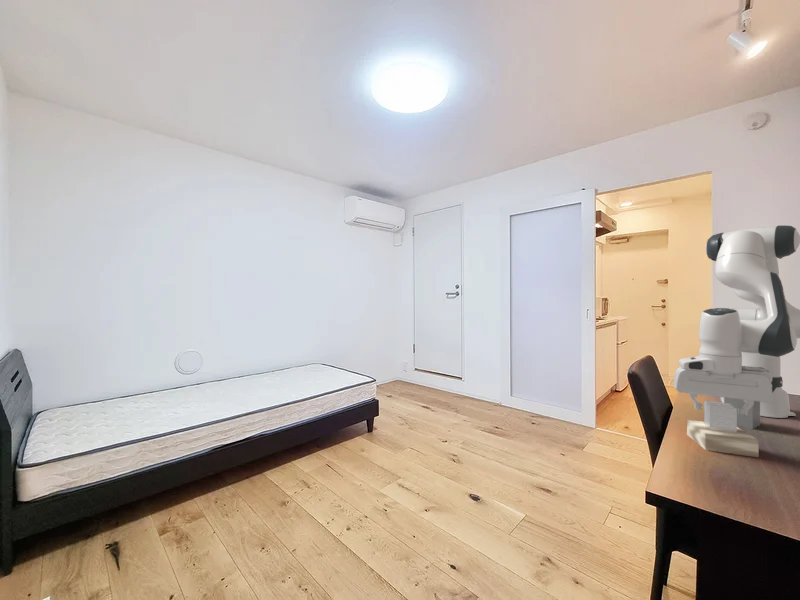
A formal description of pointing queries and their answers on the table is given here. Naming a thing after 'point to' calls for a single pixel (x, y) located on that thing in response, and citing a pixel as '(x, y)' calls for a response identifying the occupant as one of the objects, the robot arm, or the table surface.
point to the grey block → (720, 417)
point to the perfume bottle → (753, 413)
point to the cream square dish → (723, 440)
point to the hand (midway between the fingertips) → (719, 411)
